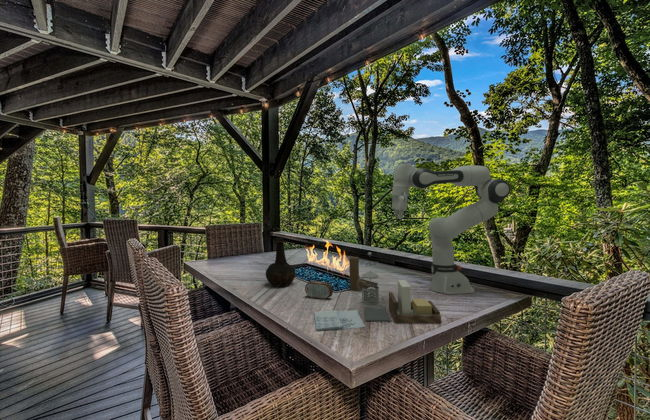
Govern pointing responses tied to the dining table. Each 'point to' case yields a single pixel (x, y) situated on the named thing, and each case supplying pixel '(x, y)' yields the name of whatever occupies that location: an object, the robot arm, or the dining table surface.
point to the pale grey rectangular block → (404, 297)
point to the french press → (370, 290)
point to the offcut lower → (419, 313)
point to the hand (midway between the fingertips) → (398, 218)
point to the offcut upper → (421, 306)
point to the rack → (412, 318)
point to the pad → (376, 315)
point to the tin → (318, 289)
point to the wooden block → (355, 274)
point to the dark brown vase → (280, 267)
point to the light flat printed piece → (337, 320)
